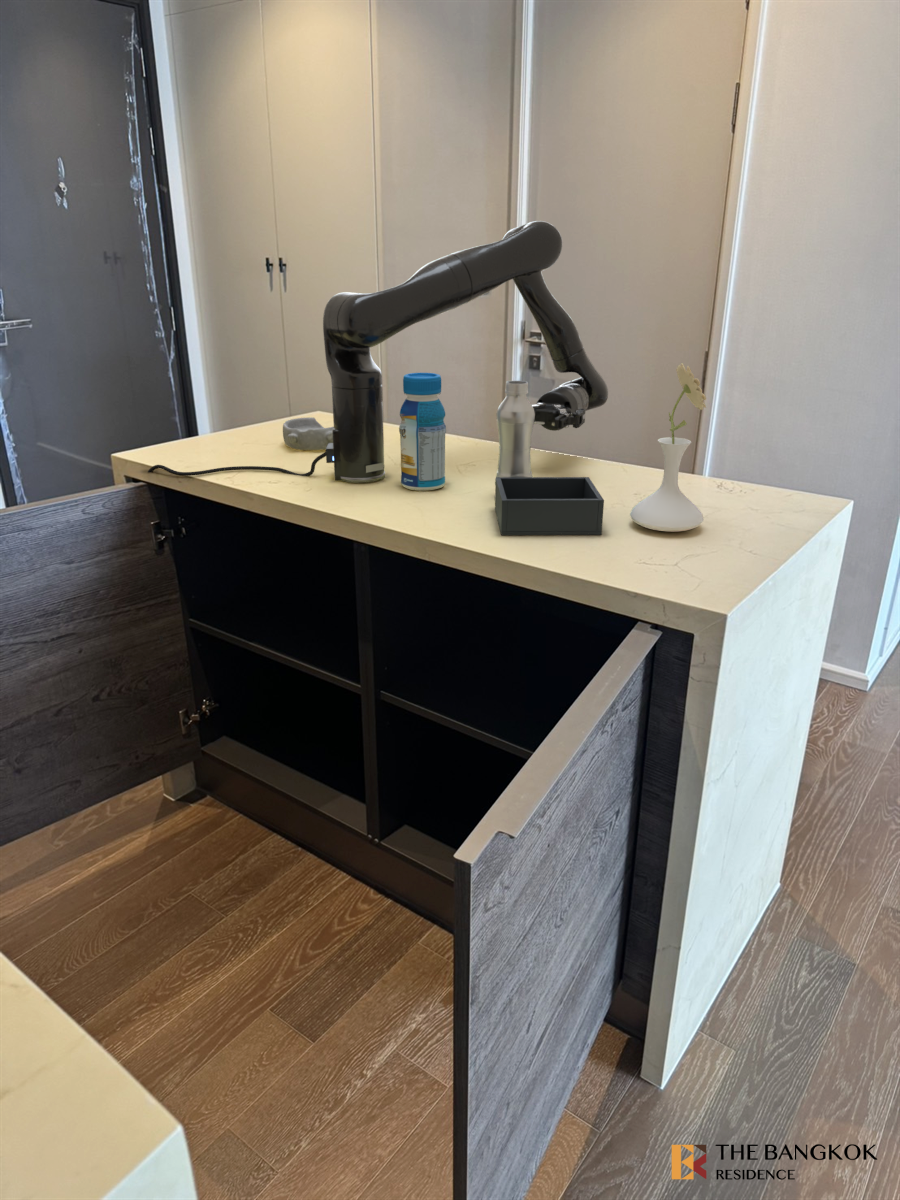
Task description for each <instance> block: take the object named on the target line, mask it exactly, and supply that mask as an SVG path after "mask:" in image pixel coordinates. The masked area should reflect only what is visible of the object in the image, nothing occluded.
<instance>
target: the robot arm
mask: <svg viewBox="0 0 900 1200" xmlns="http://www.w3.org/2000/svg"><path fill="white" fill-rule="evenodd" d="M562 251H563V238H562V235H561V233H560V231H559V229H558V228H557V227H556V226H555V225H553V224H552V223H550V222H548V221H543V220H535V221H534V220H533V221H530V222H527V223H525V224H522V225H519V226H517V227H514V228H511V229H509V230H508V231H507V232H506V233H505V234H504V236H503V238H502V239H501V240H498V241H493V242H491V243H486V244H481V245H477V246H473V247H470V248H465V249H463V250H458V251H455V252H452V253H450V254H447V255H444V256H441V257H440V258H437V259H435V260H432V261H429V262H428V263H426V264H425V265H423V266H422V267H420V268H419V269H418V270H417V271H415V272H414V274H413V275H412V276H410V278H408V279H407V280H405V281H404V282H402V283H400V284H398V285H396V286H393V287H390V288H386V289H383V290H379V291H375V292H371V293H370V292H369V293H361V292H350V291H344V292H338V293H336V294H334V295H333V296H331V298H330V299H329V300H327V302H326V305H325V307H324V310H323V317H322V332H323V344H324V355H325V364H326V368H327V371H328V373H329V375H330V380H331V381H330V382H331V396H332V397H331V400H332V419H333V427H334V429H333V431H332V434H333V443H328V445H327V447H326V449H325V452H323V453H321V454H319V455H318V456H316V457H315V458H314V460H313V461H312V463H311V466H310V471H308V472H306V473H296V472H294V471H291V470H287V469H285V468H281V467H276V466H261V465H260V466H259V465H240V466H225V467H224V466H223V467H218V468H210V469H205V470H200V471H199V470H198V471H177V470H174V469H171V468H169V467H168V466H165V465H163V464H155V465H153V466H151V467H150V468H148V470H147V473H153V472H154V471H155V470H157V469H160V470H163V471H166V472H167V473H170V474H172V475H175V476H182V477H190V476H191V477H192V476H201V475H209V474H213V473H219V472H220V473H221V472H228V471H254V470H255V471H273V472H279V473H283V474H287V475H292V476H293V475H294V476H301V477H311V476H312V475H313V474H314V472H315V469H316V464H317V463H318V462H319V461H320V460H322V459H323V458H325V462H326V464H333V471H334V481H336V482H345V483H354V484H362V483H363V484H364V483H373V482H377V481H381V480H383V479H384V478H385V477H386V470H385V467H386V465H385V445H384V444H385V441H384V440H385V437H384V405H383V404H384V403H383V402H384V401H383V374H382V370H381V369H380V367H379V366H378V365H377V364H376V362H375V361H374V360H373V357H372V353H371V348H374V347H376V346H378V345H380V344H382V343H383V342H385V341H387V340H388V339H390V338H391V337H393V336H395V335H397V334H398V333H400V332H402V331H404V330H405V329H407V328H409V327H411V326H413V325H415V324H418V323H420V322H423V321H426V320H429V319H431V318H435V317H437V316H439V315H442V314H444V313H447V312H450V311H451V310H455V309H457V308H459V307H462V306H463V305H466V304H468V303H470V302H472V301H474V300H476V299H478V298H480V297H482V296H483V295H486V294H487V293H490V292H492V291H493V290H494V289H496V288H498V287H500V286H502V285H503V284H505V283H507V282H509V281H511V280H512V281H513V283H514V284H515V286H516V288H517V290H518V291H519V293H520V296H521V297H522V299H523V300H524V302H525V304H526V306H527V308H528V309H529V311H530V313H531V315H532V317H533V319H534V320H535V322H536V325H537V327H538V330H539V331H540V334H541V336H542V338H543V341H544V343H545V346H546V349H547V352H548V354H549V357H550V359H551V362H552V365H553V367H554V369H555V371H556V372H558V373H561V374H566V373H567V374H568V373H573V374H574V373H575V374H577V375H579V376H580V377H577V378H575V379H573V380H569V381H566V382H563V383H562V384H560V385H558V387H556V388H553V389H551V390H549V391H547V392H545V393H544V394H542V395H540V397H539V398H538V399H537V401H536V403H535V404H531V405H532V407H533V408H534V412H535V419H534V425H540V426H541V427H542V428H544V429H546V430H548V431H553V432H554V431H555V432H556V431H561V430H563V429H567V428H570V426H572V428H574V429H578V428H580V427H582V426H583V425H584V424H585V422H586V412H587V411H591V410H593V409H597V408H600V407H602V406H604V405H605V404H606V403H607V402H608V399H609V388H608V385H607V383H606V381H605V379H604V378H603V377H602V375H601V373H600V372H599V371H598V369H597V368H596V367H595V366H594V365H593V363H592V360H591V359H590V358H589V356H588V354H587V353H586V350H585V347H584V344H583V341H582V338H581V335H580V334H579V330H578V327H577V326H576V324H575V322H574V321H573V319H572V317H571V316H570V315H569V313H568V312H567V311H566V310H565V309H564V307H563V306H562V305H561V304H560V303H559V302H558V300H557V299H556V298H555V297H554V295H553V294H552V292H551V291H550V289H549V288H548V286H547V284H546V283H547V282H545V279H544V276H543V273H542V272H544V271H547V270H548V269H550V268H551V267H552V266H553V265H555V263H557V261H558V259H559V258H560V257H561V255H562V254H561V253H562ZM158 637H159V643H160V644H164V636H163V635H159V636H158Z"/></svg>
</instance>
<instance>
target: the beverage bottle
mask: <svg viewBox="0 0 900 1200" xmlns="http://www.w3.org/2000/svg"><path fill="white" fill-rule="evenodd" d="M402 387H403V388H402V389H403V390H402V391H403V394H404V396H406V398H405V399H404V400H403V403H402V405H401V407H400V410H399V417H400V419H401V422H400V424H399V428H398V432H399V437H400V438H399V441H400V443H399V445H400V484H401V486H402V487H404V488H405V489H407V490H411V491H420V492H423V491H425V492H427V491H434V490H438V489H441V488H443V487H444V486H445V485H446V434H447V426H446V423H445V420H444V419H445V417H446V410H445V407H444V404H443V403H442V401H441V399H440V398H439V397H438V396H439V395H441V393H442V376H441V375H440V374H438V373H433V372H411V373H406V374H404V375H403V378H402Z"/></svg>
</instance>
